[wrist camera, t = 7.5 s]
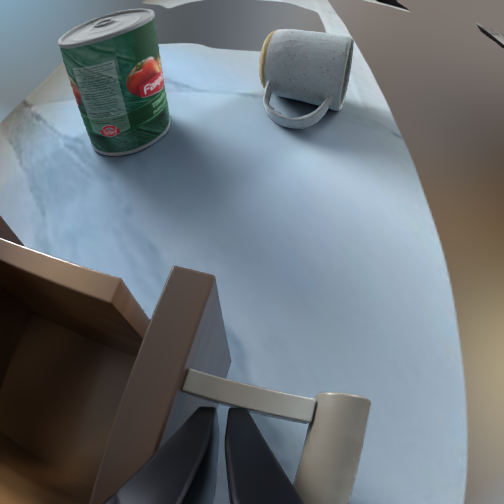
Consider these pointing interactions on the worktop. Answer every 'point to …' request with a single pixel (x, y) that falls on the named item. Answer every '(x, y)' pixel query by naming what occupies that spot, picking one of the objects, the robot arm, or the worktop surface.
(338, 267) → the worktop surface
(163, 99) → the canned tomato
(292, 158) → the worktop surface
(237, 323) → the worktop surface
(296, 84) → the ceramic mug
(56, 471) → the drawer
